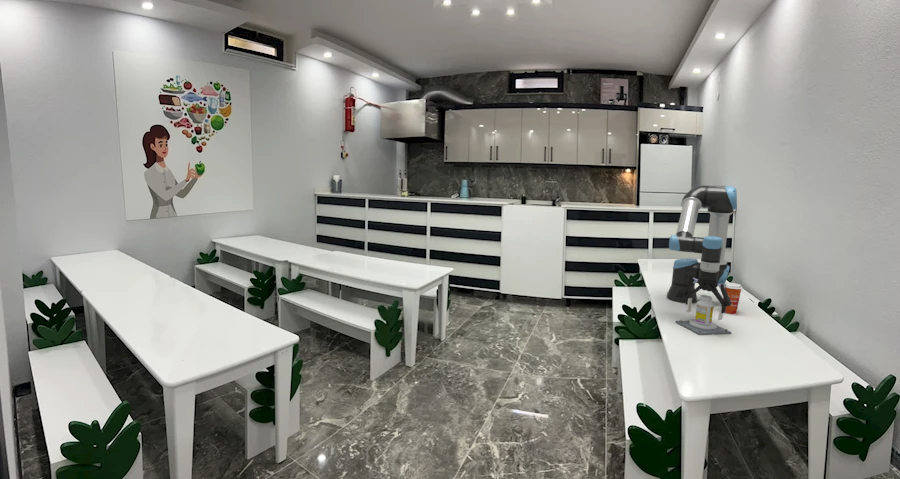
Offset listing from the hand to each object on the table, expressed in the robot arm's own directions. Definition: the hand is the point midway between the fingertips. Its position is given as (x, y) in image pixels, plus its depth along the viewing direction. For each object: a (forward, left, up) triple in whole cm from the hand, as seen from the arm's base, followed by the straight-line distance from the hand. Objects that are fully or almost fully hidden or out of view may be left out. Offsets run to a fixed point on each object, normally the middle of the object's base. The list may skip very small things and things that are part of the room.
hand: (704, 315), depth 202 cm
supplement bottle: (0, 0, -4) cm, 4 cm away
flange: (0, 0, -6) cm, 6 cm away
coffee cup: (-20, +31, -6) cm, 37 cm away
